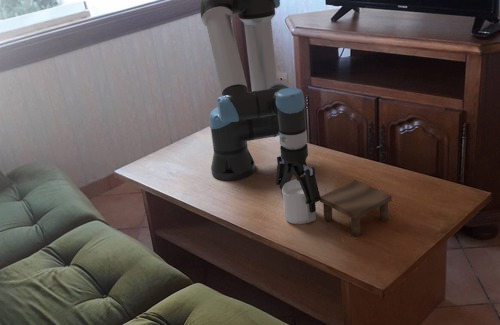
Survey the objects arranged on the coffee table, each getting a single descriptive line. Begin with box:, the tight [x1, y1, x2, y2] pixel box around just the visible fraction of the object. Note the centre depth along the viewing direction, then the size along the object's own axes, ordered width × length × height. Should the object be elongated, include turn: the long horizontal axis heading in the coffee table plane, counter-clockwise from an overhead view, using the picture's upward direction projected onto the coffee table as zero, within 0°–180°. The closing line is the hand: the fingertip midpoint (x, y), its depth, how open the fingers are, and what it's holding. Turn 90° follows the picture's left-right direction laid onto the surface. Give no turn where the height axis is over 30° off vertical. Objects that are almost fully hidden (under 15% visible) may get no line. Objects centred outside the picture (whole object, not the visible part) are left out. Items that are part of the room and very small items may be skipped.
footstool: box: [319, 179, 393, 238], centre depth 167 cm, size 14×14×8 cm
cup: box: [281, 178, 308, 225], centre depth 172 cm, size 10×10×10 cm
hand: (299, 214), depth 174 cm, fingers closed on cup, 10 cm apart
